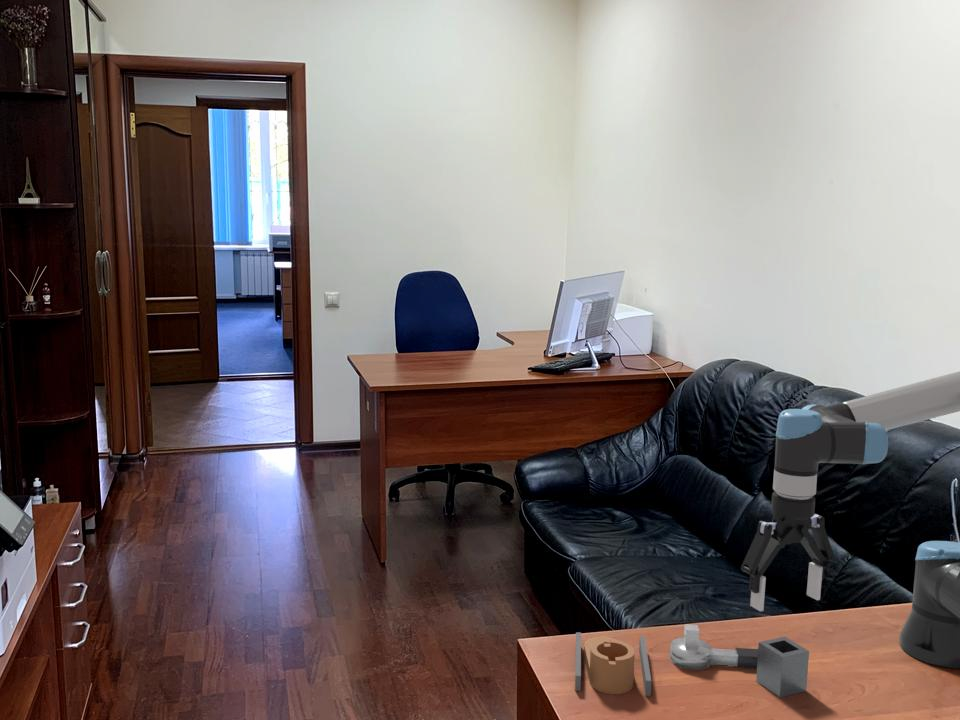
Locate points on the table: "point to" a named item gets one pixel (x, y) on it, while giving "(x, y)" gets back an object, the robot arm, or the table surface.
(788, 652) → the socket
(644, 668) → the bar
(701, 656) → the ratchet
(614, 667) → the tan slotted hollow cylinder
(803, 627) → the table surface
